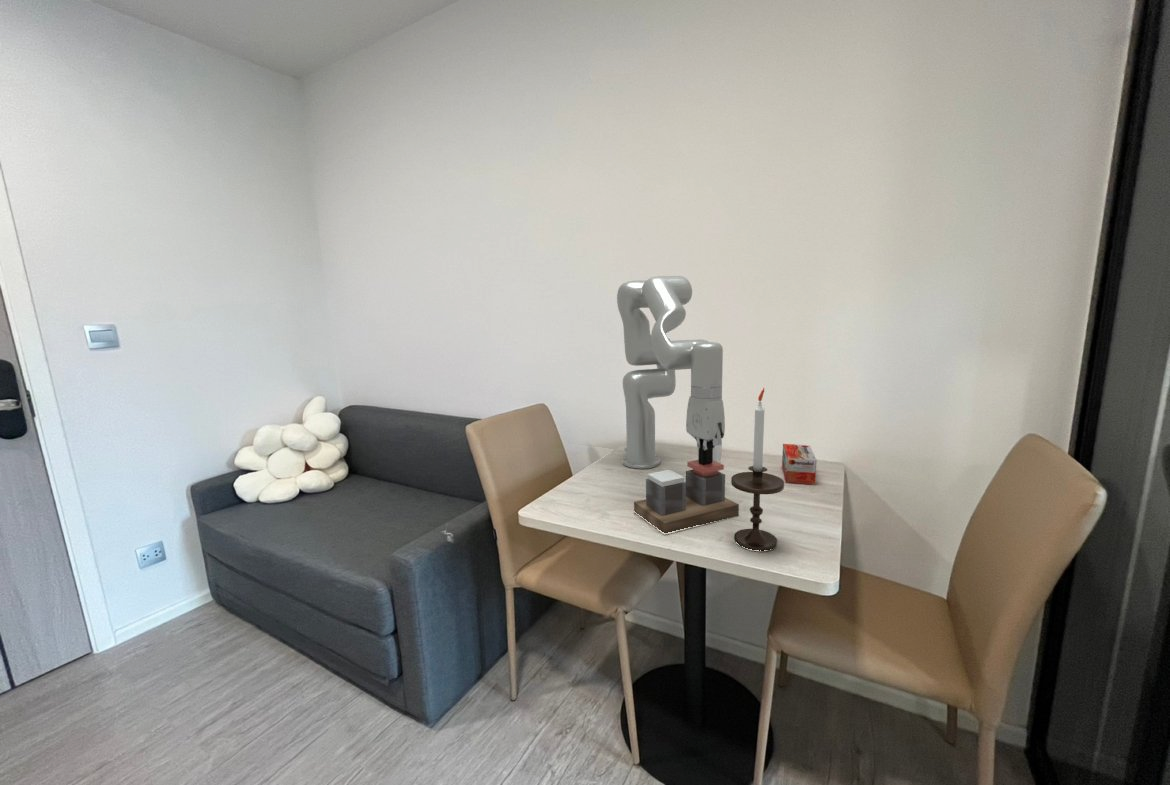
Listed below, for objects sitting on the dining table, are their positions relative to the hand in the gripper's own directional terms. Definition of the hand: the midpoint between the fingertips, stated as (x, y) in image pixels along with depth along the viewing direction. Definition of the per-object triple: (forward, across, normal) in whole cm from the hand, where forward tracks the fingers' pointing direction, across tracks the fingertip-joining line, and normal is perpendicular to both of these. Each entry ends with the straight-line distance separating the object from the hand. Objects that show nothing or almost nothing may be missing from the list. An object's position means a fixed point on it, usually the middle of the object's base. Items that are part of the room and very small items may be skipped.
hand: (705, 463), depth 123 cm
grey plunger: (+9, 0, -12) cm, 15 cm away
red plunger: (+8, 0, 0) cm, 8 cm away
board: (+13, 0, -6) cm, 14 cm away
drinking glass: (+13, -12, +11) cm, 21 cm away
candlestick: (+13, +19, -1) cm, 23 cm away
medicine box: (+13, -6, +40) cm, 43 cm away
